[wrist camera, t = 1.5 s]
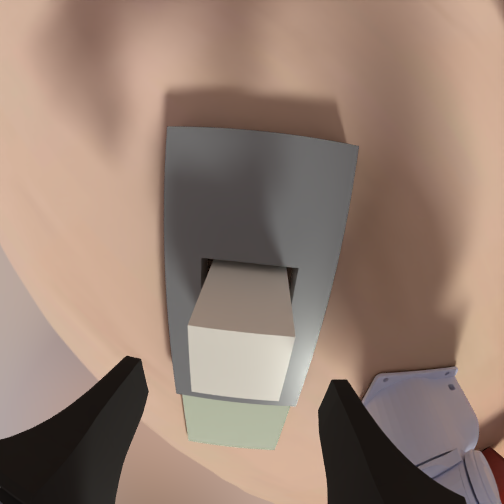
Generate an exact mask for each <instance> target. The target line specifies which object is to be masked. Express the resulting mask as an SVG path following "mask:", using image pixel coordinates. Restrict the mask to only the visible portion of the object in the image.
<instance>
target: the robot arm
mask: <svg viewBox="0 0 504 504" xmlns="http://www.w3.org/2000/svg"><path fill="white" fill-rule="evenodd" d="M457 371H458V368H457V367H447V368H439V369H431V370H421V371H409V372H396V373H380V374H378V375H376V376H375V378H374V380H373V382H372V383H371V385H370V387H369V389H368V391H367V393H366V394H365V396H364V398H363V400H362V402H361V400H360V399H359V397H358V396H357V394H356V393H355V391H354V390H353V388H352V386H351V385H350V383H349V382H348V381H347V380H331V382H330V385H329V387H328V390H327V392H326V394H325V396H324V399H323V401H322V403H321V405H320V407H319V410H318V418H319V435H320V441H321V447H322V453H323V459H324V465H325V472H326V478H327V491H328V504H502V503H501V500H500V497H499V492H498V488H497V484H496V481H495V478H494V476H493V473H492V471H491V469H490V466H489V464H488V462H487V460H486V458H485V457H484V455H483V454H482V452H481V451H478V450H474V448H475V446H476V444H477V442H478V438H479V423H478V419H477V417H476V414H475V413H474V411H473V409H472V407H471V405H470V403H469V401H468V399H467V398H466V396H465V394H464V392H463V390H462V389H461V387H460V385H459V383H458V382H457V380H456V378H455V377H454V376H455V375H456V373H457ZM148 392H149V391H148V387H147V383H146V379H145V375H144V370H143V366H142V361H141V359H139V358H134V357H130V356H126V357H125V358H123V359H122V360H121V361H120V362H119V363H118V364H117V365H116V366H115V367H114V368H113V369H112V370H111V371H110V372H109V373H108V374H106V375H105V376H104V377H103V378H102V379H101V380H100V381H99V382H98V383H96V384H95V385H94V386H93V387H92V388H91V389H90V390H89V391H87V392H86V393H85V394H84V395H82V396H81V397H80V398H79V399H77V400H76V401H75V402H74V403H72V404H71V405H70V406H68V407H67V408H66V409H64V410H62V411H61V412H59V413H58V414H57V415H55V416H53V417H52V418H50V419H48V420H46V421H45V422H43V423H41V424H39V425H37V426H36V427H33V428H31V429H29V430H26V431H24V432H21V433H19V434H17V435H14V436H11V437H9V438H5V439H1V440H0V504H115V498H116V493H117V488H118V483H119V478H120V474H121V470H122V466H123V463H124V460H125V456H126V454H127V451H128V449H129V446H130V444H131V441H132V439H133V436H134V434H135V432H136V429H137V427H138V424H139V422H140V419H141V417H142V414H143V411H144V407H145V404H146V400H147V396H148Z"/></svg>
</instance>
